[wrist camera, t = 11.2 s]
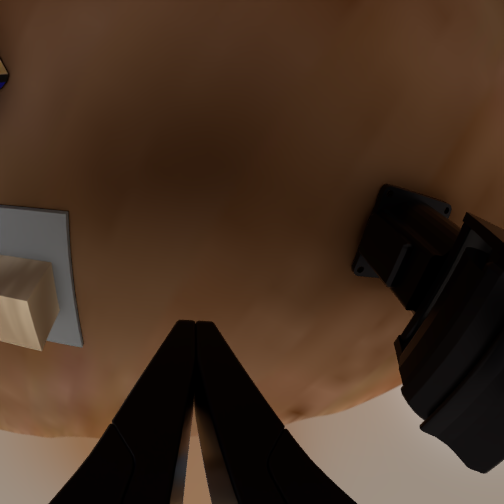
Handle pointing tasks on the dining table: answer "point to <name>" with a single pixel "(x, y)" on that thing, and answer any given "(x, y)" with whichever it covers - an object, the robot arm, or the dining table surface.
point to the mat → (45, 259)
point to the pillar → (26, 301)
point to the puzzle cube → (3, 75)
